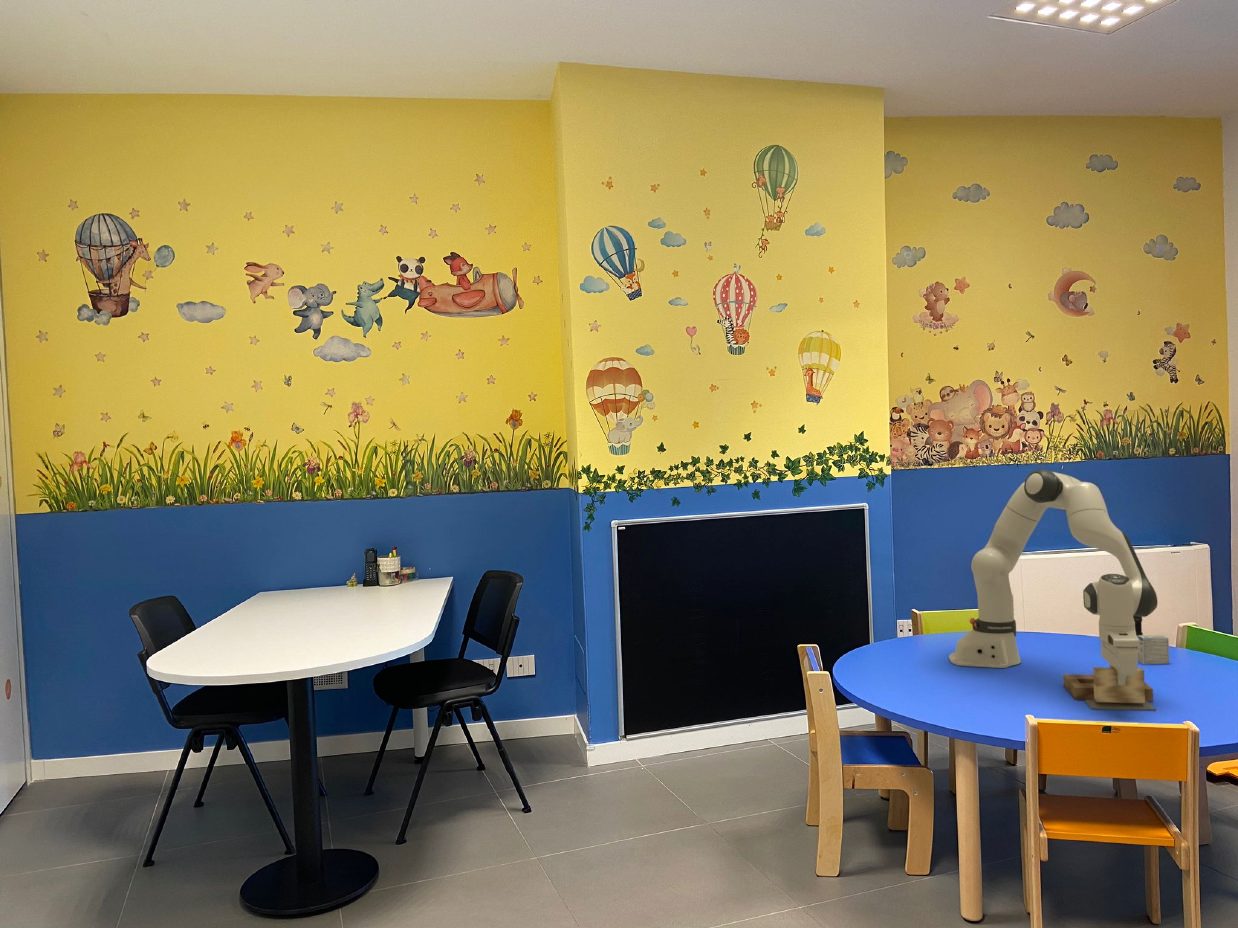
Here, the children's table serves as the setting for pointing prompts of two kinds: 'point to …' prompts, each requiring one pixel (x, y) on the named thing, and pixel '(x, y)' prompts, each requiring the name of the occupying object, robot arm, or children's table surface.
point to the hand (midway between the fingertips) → (1118, 682)
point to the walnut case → (1090, 687)
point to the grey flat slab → (1119, 705)
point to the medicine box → (1153, 649)
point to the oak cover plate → (1118, 686)
